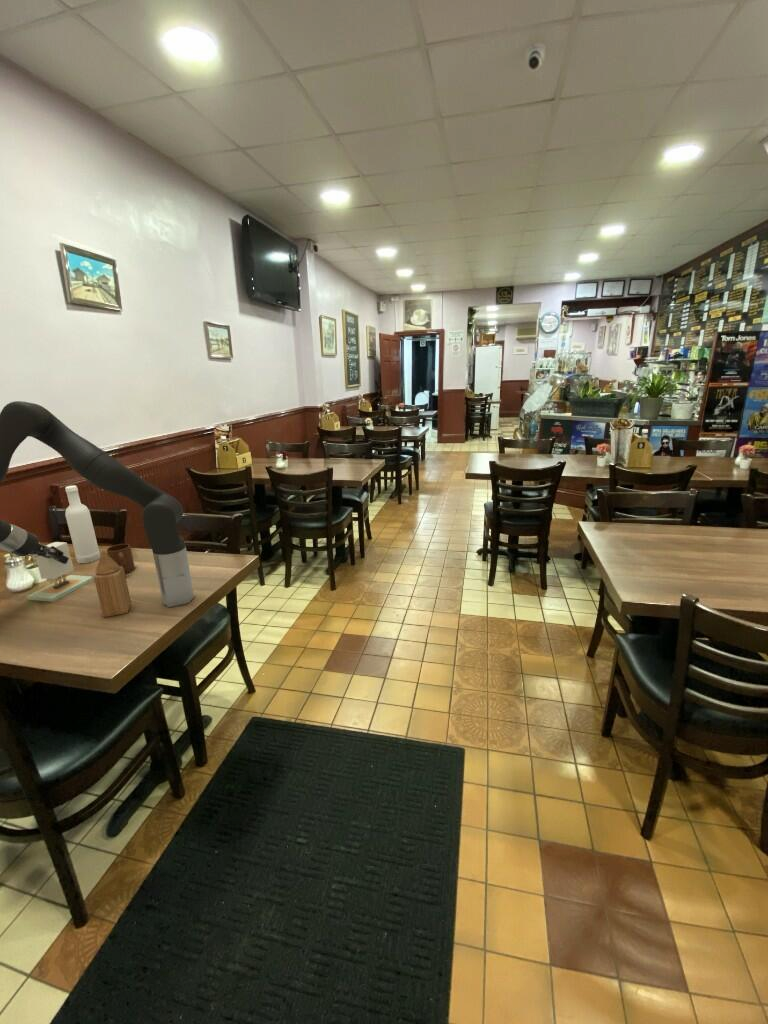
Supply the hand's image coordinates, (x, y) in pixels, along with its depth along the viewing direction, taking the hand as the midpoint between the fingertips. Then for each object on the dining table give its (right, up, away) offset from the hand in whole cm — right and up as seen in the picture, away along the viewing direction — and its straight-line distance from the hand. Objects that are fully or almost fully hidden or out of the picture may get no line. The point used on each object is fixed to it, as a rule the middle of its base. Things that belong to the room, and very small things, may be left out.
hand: (59, 560), depth 146 cm
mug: (+14, -6, +13) cm, 20 cm away
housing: (0, -4, -1) cm, 5 cm away
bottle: (-7, -3, +25) cm, 27 cm away
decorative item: (+28, -14, -14) cm, 34 cm away
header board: (0, -10, +1) cm, 10 cm away
